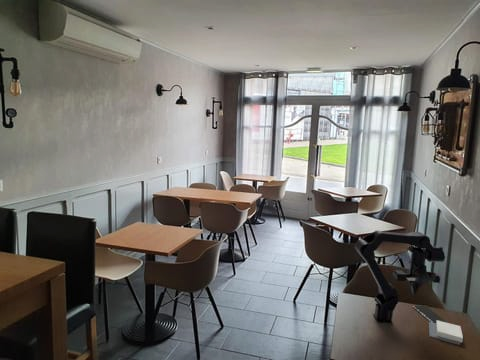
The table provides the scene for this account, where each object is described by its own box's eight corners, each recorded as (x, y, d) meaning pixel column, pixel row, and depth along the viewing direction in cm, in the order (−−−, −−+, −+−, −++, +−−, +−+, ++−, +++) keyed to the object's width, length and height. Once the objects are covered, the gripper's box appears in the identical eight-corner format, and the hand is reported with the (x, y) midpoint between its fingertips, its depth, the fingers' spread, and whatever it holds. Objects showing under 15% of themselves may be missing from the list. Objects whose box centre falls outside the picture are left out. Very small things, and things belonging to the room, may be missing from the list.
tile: (437, 331, 145) (462, 338, 141) (436, 320, 154) (460, 326, 150) (436, 336, 146) (462, 343, 142) (435, 324, 155) (459, 330, 151)
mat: (429, 336, 146) (429, 335, 146) (428, 322, 157) (428, 321, 157) (460, 345, 141) (460, 344, 141) (457, 330, 152) (457, 329, 152)
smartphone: (434, 324, 155) (412, 305, 171) (434, 326, 155) (411, 307, 171) (449, 323, 156) (425, 305, 172) (449, 326, 156) (425, 307, 172)
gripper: (404, 267, 147) (400, 302, 149) (449, 269, 147) (444, 304, 149) (393, 257, 158) (390, 290, 160) (435, 259, 158) (431, 292, 160)
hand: (413, 294), depth 157 cm, fingers closed
